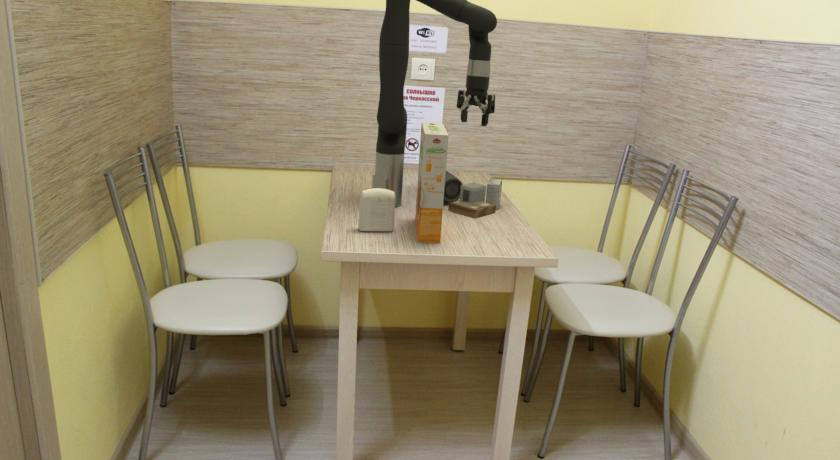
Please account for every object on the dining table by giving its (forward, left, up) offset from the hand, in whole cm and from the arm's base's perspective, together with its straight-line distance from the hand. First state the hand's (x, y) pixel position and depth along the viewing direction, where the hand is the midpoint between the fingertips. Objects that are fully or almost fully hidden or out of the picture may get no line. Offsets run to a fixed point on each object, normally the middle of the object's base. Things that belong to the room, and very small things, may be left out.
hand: (473, 124), depth 225 cm
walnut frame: (-8, -8, -27) cm, 30 cm away
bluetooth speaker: (-2, +11, -27) cm, 29 cm away
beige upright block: (-48, -4, -27) cm, 56 cm away
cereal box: (-36, -13, -27) cm, 47 cm away
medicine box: (+3, -8, -27) cm, 29 cm away
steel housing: (-8, -8, -24) cm, 27 cm away
